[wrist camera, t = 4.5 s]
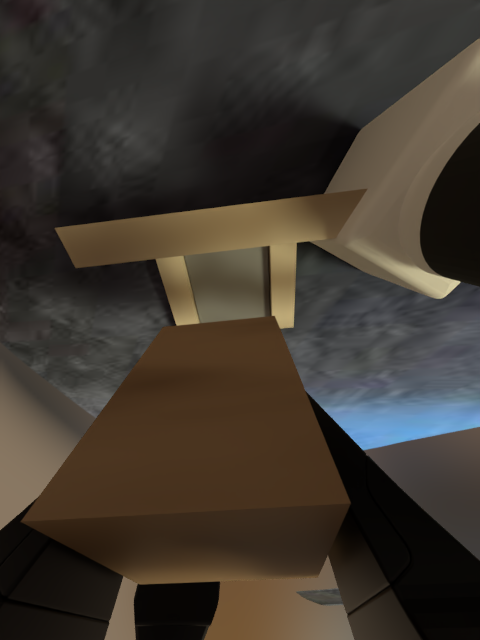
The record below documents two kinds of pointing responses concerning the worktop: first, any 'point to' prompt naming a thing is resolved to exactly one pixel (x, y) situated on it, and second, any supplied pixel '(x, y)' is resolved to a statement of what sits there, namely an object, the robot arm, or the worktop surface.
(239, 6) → the worktop surface
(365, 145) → the medicine bottle
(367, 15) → the worktop surface
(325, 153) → the worktop surface
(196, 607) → the robot arm
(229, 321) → the cabinet block
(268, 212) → the cleat board
